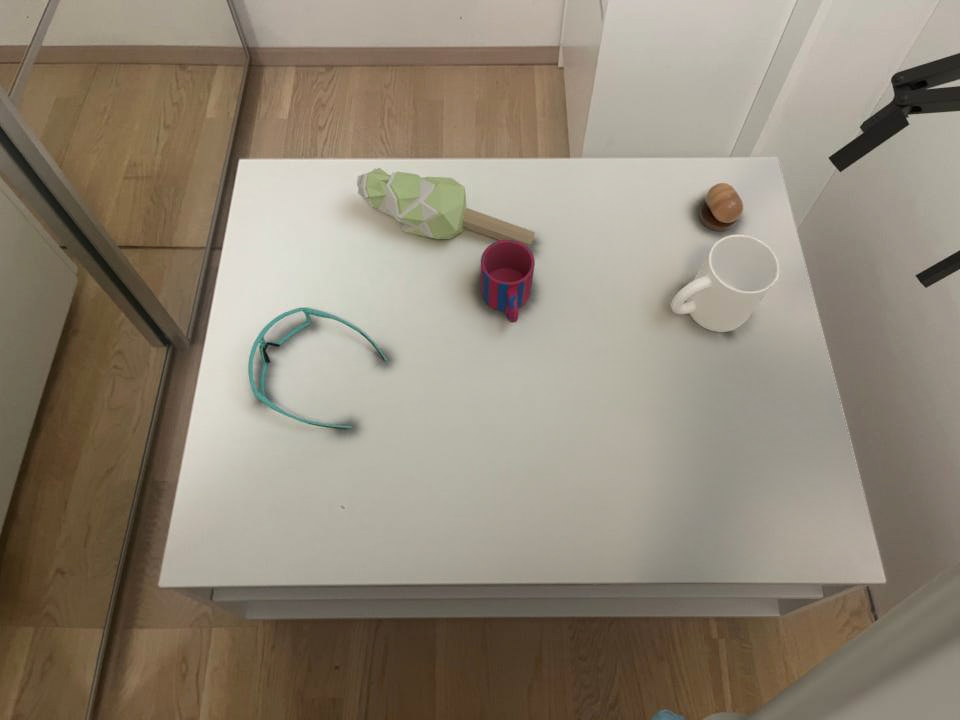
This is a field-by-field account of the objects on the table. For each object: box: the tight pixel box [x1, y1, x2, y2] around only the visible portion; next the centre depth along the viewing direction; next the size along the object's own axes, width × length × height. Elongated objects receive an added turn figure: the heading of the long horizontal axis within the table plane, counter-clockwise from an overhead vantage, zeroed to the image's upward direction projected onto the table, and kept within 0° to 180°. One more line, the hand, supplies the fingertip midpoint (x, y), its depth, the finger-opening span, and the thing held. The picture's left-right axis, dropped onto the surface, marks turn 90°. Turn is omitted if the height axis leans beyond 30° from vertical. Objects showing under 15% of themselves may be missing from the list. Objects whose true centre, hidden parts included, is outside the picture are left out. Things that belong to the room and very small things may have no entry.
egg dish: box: [698, 182, 744, 232], centre depth 92 cm, size 6×5×5 cm
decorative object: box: [356, 167, 536, 249], centre depth 90 cm, size 9×10×25 cm
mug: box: [670, 234, 780, 333], centre depth 83 cm, size 12×8×10 cm
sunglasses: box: [247, 307, 388, 430], centre depth 82 cm, size 14×15×5 cm
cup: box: [480, 240, 536, 323], centre depth 85 cm, size 7×10×7 cm
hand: (874, 221), depth 60 cm, fingers open, 13 cm apart
